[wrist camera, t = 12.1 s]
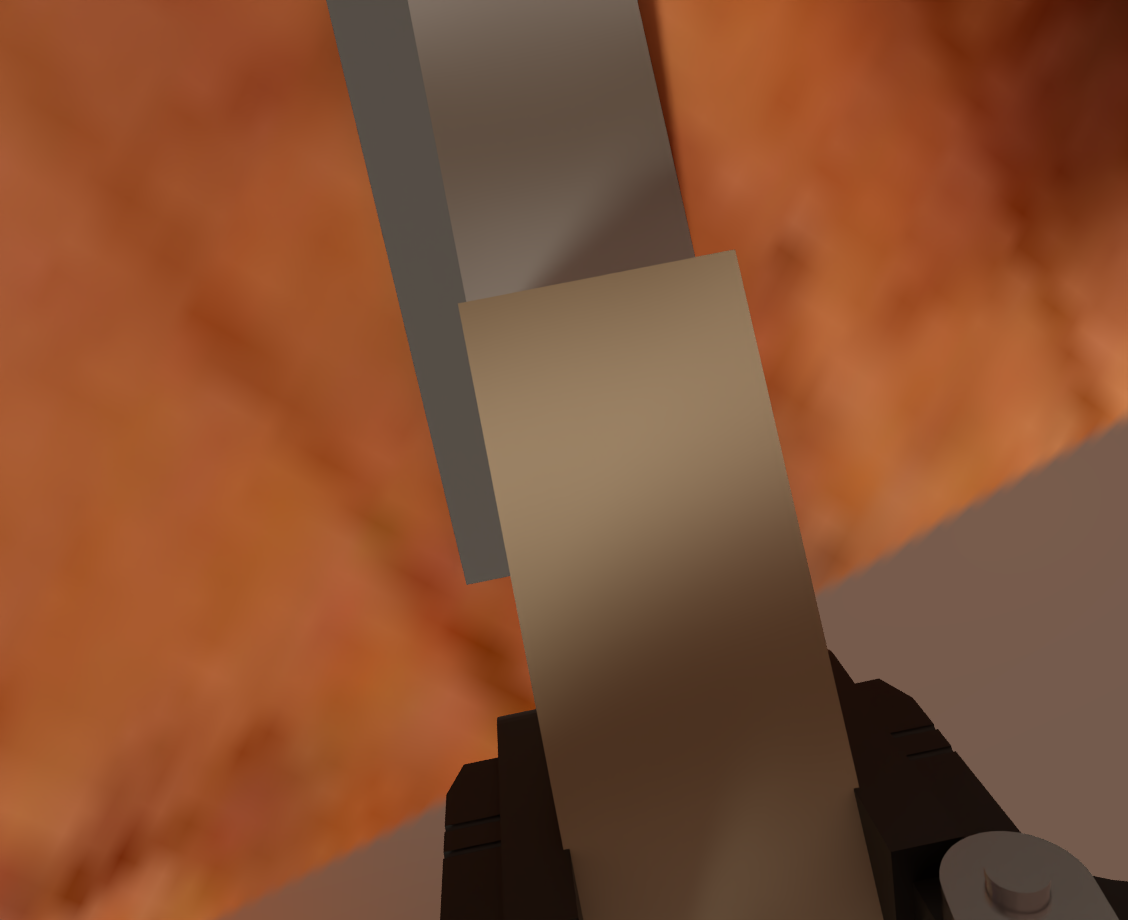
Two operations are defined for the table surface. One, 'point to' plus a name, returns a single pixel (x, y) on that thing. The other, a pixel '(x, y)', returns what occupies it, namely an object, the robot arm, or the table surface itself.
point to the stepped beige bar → (637, 484)
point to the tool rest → (421, 259)
